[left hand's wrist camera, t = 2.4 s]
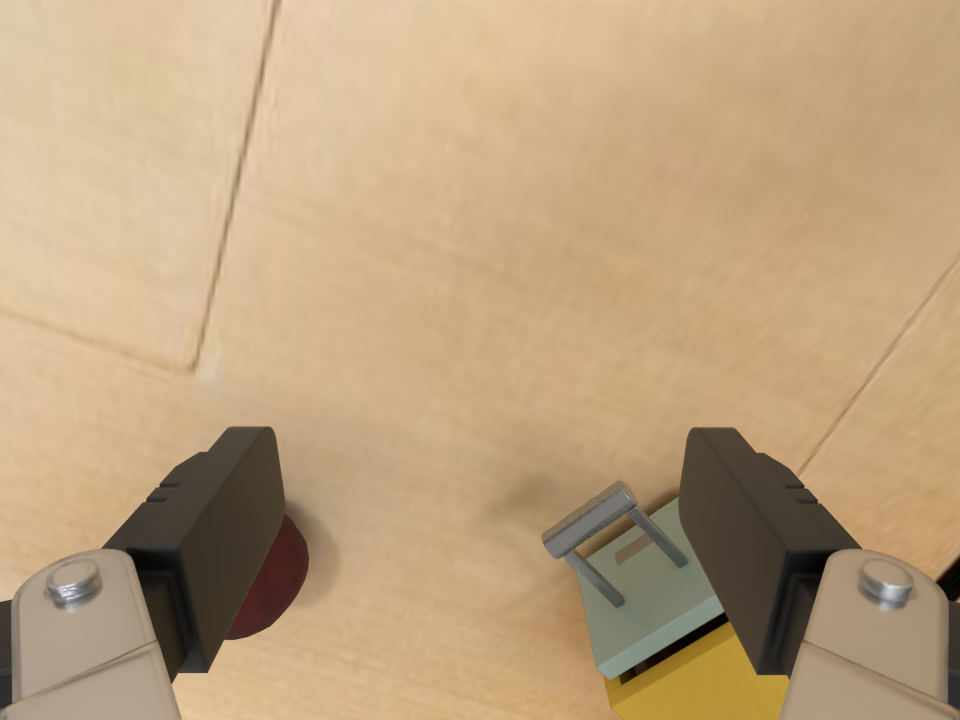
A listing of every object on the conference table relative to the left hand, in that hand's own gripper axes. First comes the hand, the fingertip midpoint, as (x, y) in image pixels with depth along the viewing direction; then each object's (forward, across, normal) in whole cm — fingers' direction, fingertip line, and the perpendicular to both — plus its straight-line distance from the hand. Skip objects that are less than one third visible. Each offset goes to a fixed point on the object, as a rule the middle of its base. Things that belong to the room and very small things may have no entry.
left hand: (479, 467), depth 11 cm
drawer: (+19, -13, +20) cm, 31 cm away
